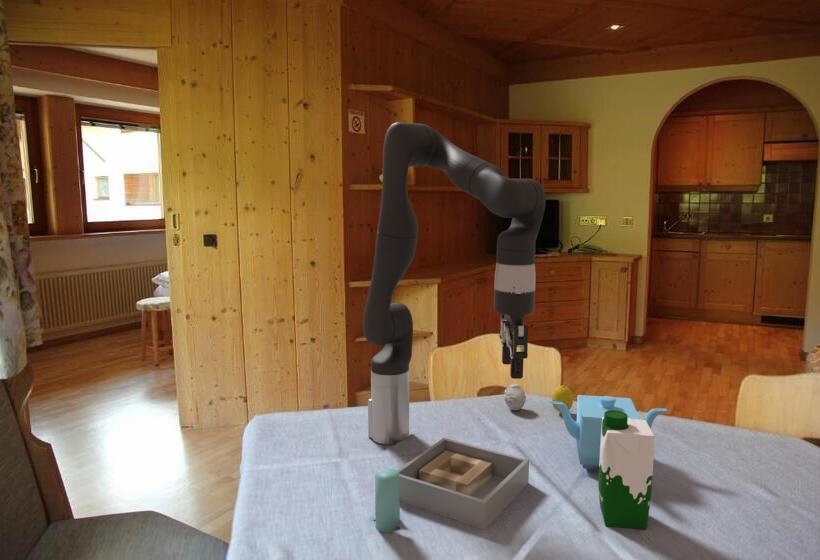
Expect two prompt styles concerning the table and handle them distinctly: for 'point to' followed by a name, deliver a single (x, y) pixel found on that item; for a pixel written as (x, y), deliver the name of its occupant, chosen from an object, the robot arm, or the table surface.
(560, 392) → the lemon
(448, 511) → the open box
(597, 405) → the teakettle
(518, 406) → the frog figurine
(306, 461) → the table surface
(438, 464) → the bore block
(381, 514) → the peg
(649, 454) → the milk carton
